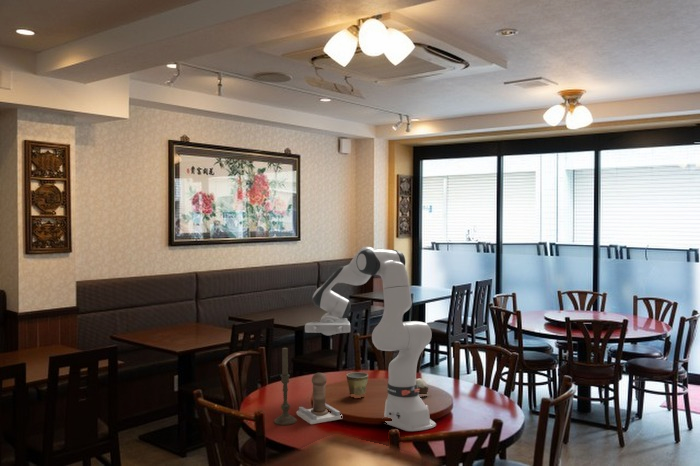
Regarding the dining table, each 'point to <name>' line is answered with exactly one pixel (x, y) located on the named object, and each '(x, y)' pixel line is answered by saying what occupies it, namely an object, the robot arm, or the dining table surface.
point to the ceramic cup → (357, 382)
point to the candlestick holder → (285, 393)
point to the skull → (422, 386)
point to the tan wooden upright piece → (319, 394)
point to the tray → (314, 419)
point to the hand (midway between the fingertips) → (326, 330)
